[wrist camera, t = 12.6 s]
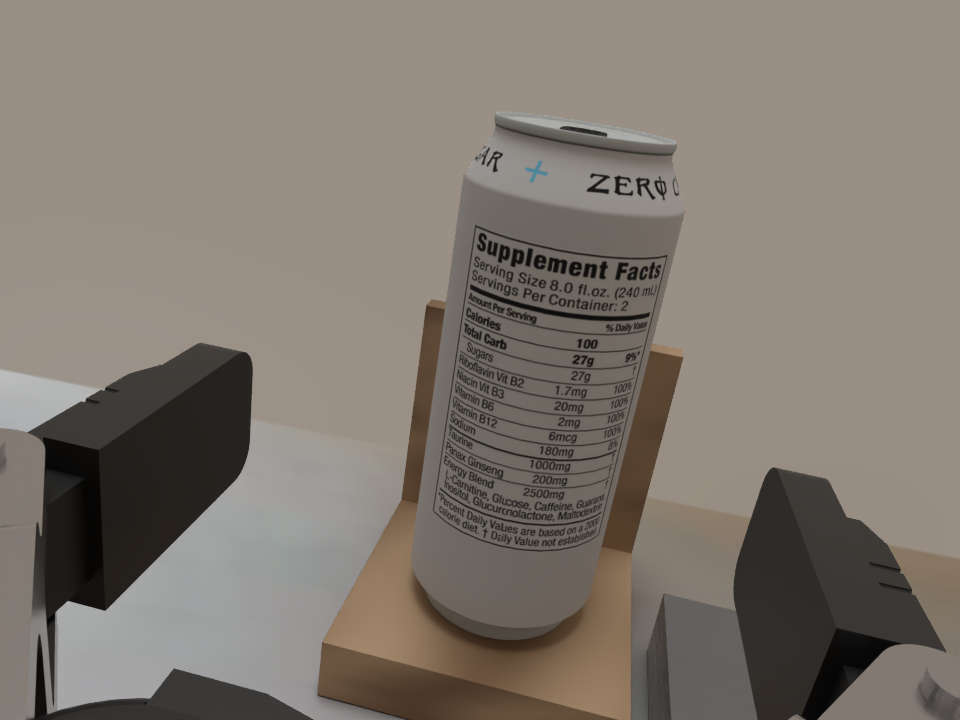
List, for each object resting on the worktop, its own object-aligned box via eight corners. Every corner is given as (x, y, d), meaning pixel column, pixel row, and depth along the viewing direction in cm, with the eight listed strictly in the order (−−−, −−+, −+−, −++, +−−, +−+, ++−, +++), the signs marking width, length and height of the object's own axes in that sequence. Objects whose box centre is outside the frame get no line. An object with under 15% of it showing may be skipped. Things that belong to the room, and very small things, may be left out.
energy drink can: (591, 557, 28) (693, 138, 22) (578, 675, 22) (711, 157, 17) (433, 519, 29) (494, 104, 23) (383, 624, 23) (449, 112, 18)
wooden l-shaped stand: (317, 694, 23) (344, 393, 19) (401, 531, 31) (432, 299, 28) (615, 775, 22) (704, 472, 18) (620, 583, 30) (681, 349, 26)
